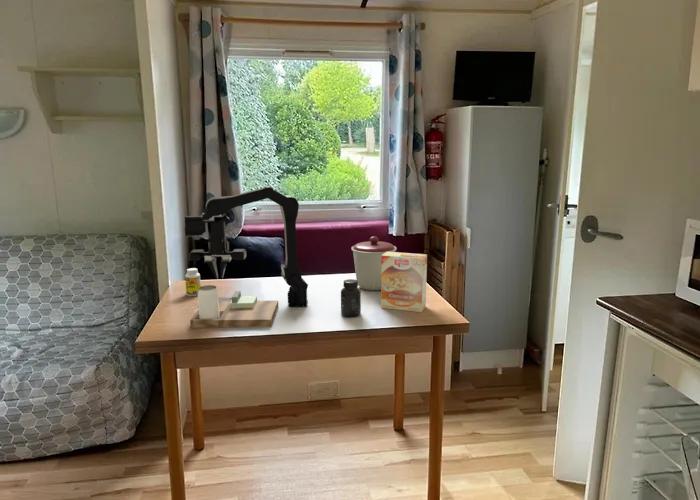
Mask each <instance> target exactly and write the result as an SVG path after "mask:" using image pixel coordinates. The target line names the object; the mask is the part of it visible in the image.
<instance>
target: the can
mask: <svg viewBox="0 0 700 500" xmlns="http://www.w3.org/2000/svg"><path fill="white" fill-rule="evenodd" d="M218 298H219V291H218V289H217V286H216V285H212V284H209V285H207V284H206V285H202V286H201V287H199V291H198V295H197V301H198V302H197V303H198V306H199V307H198V310H199V318H200V319H219V318H220V315H219V299H218Z"/></svg>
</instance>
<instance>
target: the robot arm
mask: <svg viewBox="0 0 700 500" xmlns="http://www.w3.org/2000/svg"><path fill="white" fill-rule="evenodd" d="M266 199H269V200H270V201H272V202H274V203H275V204H277V205H279V208H280V209H279V210H280V213H281V216H282V218H283V219H282V220H283V225H284V226H283V227H284V247H285V248H284V249H285V261H284V264H282V263H281V264H280V267H281V268H280V269H281V273H280V274H281V275H280V276H281V277H282V278H283V280H284V281H285V282H286V284H287V285H288V286H289V287H288V291H287V304H288V307H293V308H294V307H295V308H296V307H297V308H299V307H308V304H309V303H308V301H309V300H308V286H309V284H308V283H307V281H305V279H304V278H303V276H302V273H301V269H300V266H299V262H298V251H297V248H298V247H297V246H298V245H297V226H296V225H297V223H296V222H297V218H298V215H299V205H300V203H299V201H298V200H297V199H296V197H293V196H291V195H284V194H282V193H281V192H279V191H277V190H275V189H274V188H273V187H271V186H269V185H265V186H263V187H260V188H256V189H252V190H249V191H246V192H242V193H238V194H233V195H228V196H227V195H226V196H225V195H224V196H213V197H210V198H208V200H207V201H206V203H205V209H204V210H203V212H202V213H201V214H200V215H194V216H193V215H192V216H191V215H186V216H184V234H185V237H200V236H203V234H205V233H207V237H208V238H207V244H208V246H207V247H208V251H205V250H204V249H202V248H201V249H200V248H199V249H192V250H190V252H189V253H188V261H189V262H196V261H197V262H198V261H199V260H200V259H201V258H202V259H203V258H204V261H203V263H204V264H207V265H208V267H209V268H210V270H211V271H212V274H213V277H214V278H215V280H218V279H219V273H220V280H223V279H224V275H225V271H226V268H227V265H228V263H230V262H231V261H232V259H233V260H234V261H244V260H246V258H247V249H246V248H234V249H233V250H232V251H230V241H228V240H227V236H226V227H225V226H226V223H227V222H230V221H231V219H230V217H228V216H227V214H226V213H227V212H229V211H231V210H232V209H234V208H236V207H238V208H239V207H240V206H245V205H247V204H253V203H254V202H255V203H256V202H259V201H262V200H266ZM221 215H222V216H221ZM212 218H213V219H212ZM206 224H207V225H206ZM206 226H207V227H206ZM206 228H207V231H206ZM217 258H221V260H220V265H219V268H220V272H219V273H218V267H217Z"/></svg>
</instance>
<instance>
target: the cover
mask: <svg viewBox="0 0 700 500" xmlns="http://www.w3.org/2000/svg"><path fill="white" fill-rule="evenodd" d="M231 298H232V299H231V302H230V308H254V306H255V304H256V302H257V301H258V296H256V295H250V296H249V295H248V296H247V295H245V296H244V295H242V293H241V291H237V290H236V291H235V292H234V293H233V295H232V296H231Z"/></svg>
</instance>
